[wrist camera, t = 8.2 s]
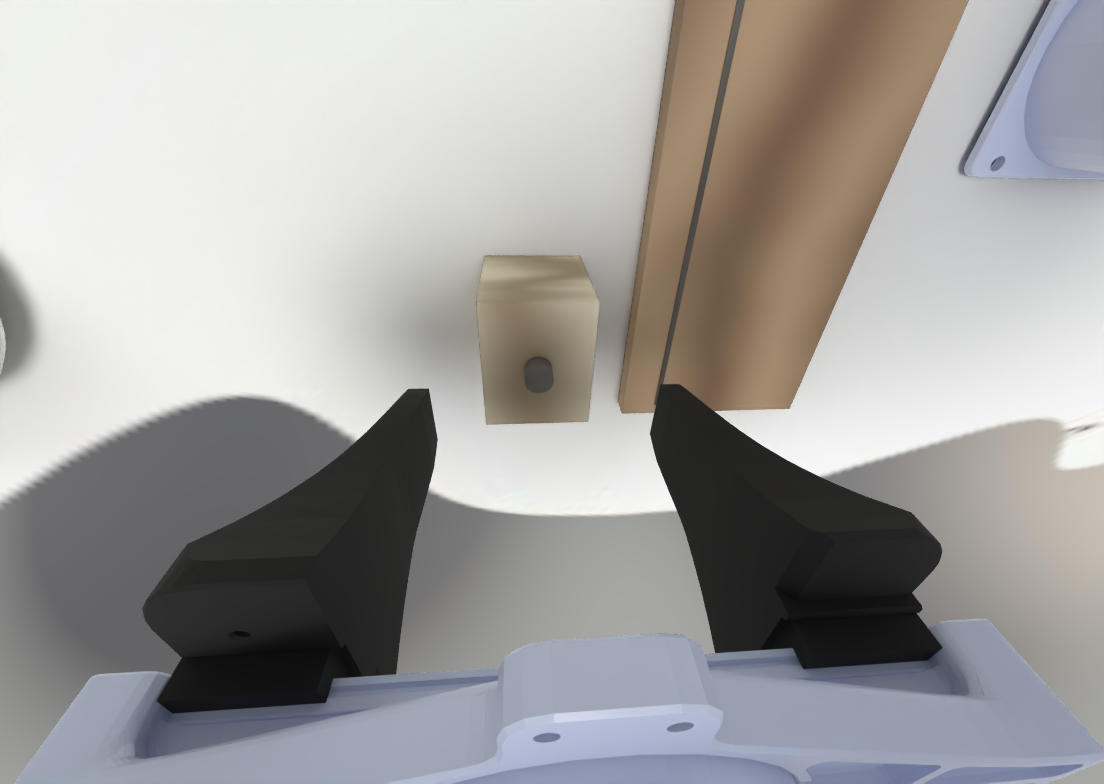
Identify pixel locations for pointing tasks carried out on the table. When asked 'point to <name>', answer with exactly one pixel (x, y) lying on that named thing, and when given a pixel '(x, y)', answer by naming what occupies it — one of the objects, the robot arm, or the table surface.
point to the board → (768, 185)
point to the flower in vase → (2, 345)
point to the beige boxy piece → (536, 338)
